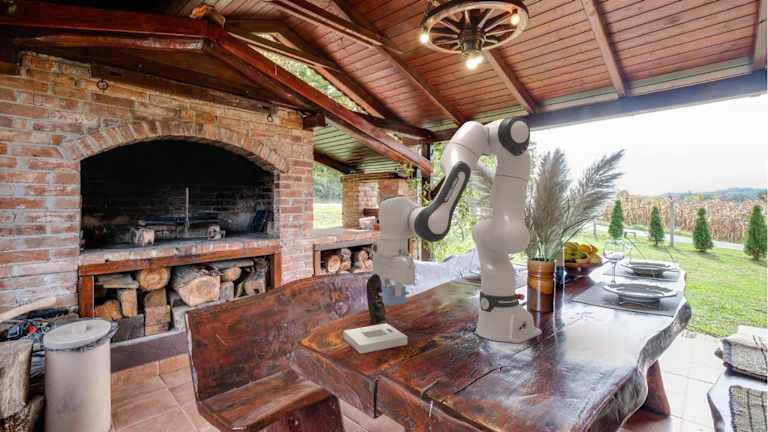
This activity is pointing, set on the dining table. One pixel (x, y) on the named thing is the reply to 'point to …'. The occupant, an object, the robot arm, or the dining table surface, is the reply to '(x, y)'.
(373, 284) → the statue
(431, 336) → the dining table surface
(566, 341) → the dining table surface
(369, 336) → the frame
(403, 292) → the servo
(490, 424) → the dining table surface
